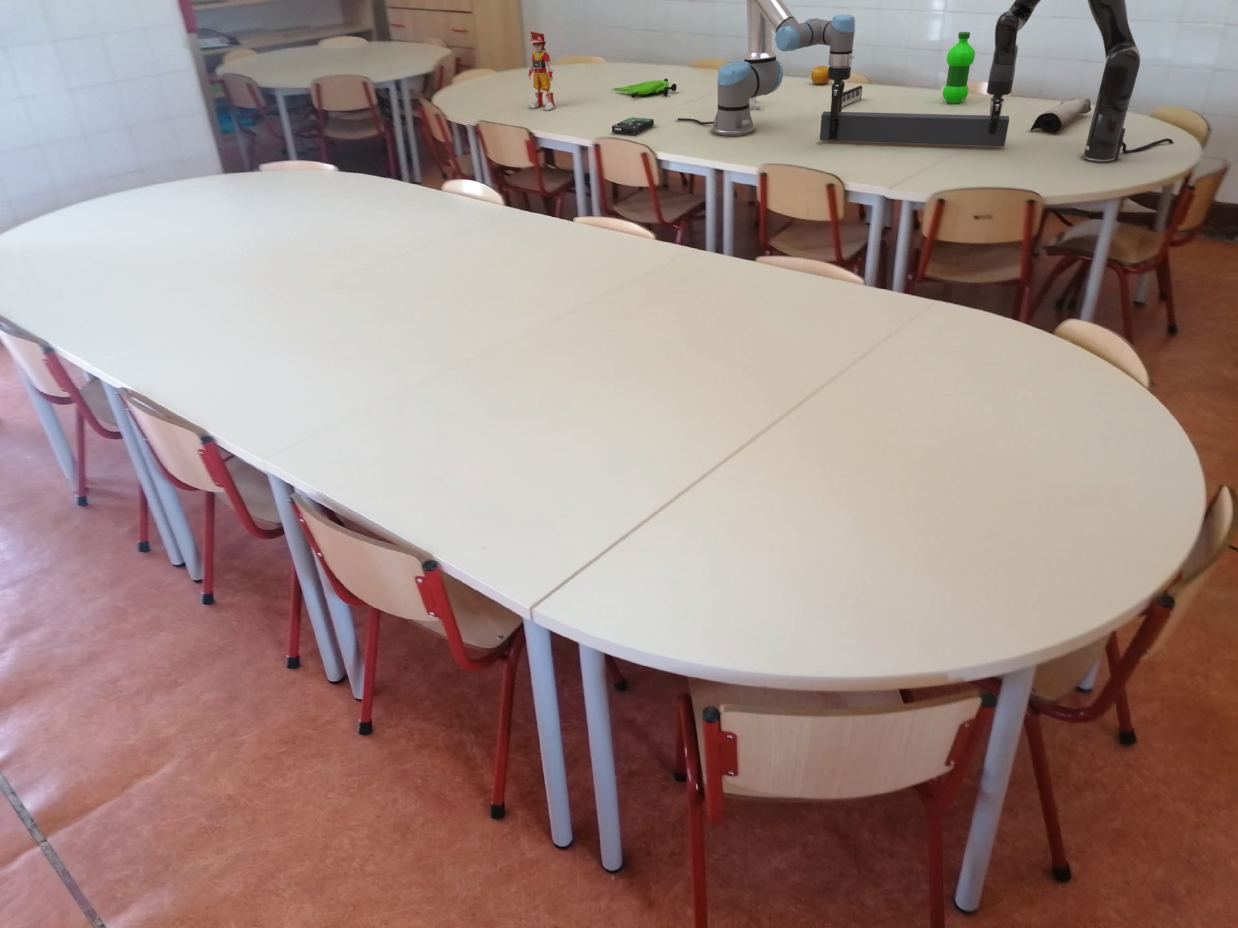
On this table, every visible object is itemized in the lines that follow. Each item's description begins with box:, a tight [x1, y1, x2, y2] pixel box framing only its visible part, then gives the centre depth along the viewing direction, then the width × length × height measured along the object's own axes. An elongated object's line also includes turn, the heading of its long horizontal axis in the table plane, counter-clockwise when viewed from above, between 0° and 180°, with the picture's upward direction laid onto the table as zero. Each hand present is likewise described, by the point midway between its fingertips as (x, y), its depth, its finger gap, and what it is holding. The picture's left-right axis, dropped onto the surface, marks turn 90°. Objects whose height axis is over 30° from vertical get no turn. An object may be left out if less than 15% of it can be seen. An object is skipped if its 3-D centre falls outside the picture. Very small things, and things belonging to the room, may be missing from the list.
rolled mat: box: [1030, 97, 1092, 134], centre depth 321 cm, size 30×9×10 cm
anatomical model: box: [749, 97, 762, 110], centre depth 364 cm, size 15×10×10 cm
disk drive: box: [611, 116, 655, 136], centre depth 345 cm, size 10×3×15 cm
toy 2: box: [612, 78, 677, 99], centre depth 396 cm, size 28×5×30 cm
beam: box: [819, 110, 1010, 148], centre depth 307 cm, size 61×5×9 cm, turn 71°
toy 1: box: [527, 31, 556, 111], centre depth 374 cm, size 12×9×30 cm
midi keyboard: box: [842, 85, 863, 107], centre depth 360 cm, size 18×1×5 cm, turn 138°
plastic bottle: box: [942, 31, 976, 104], centre depth 348 cm, size 10×10×25 cm
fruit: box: [810, 65, 830, 85], centre depth 390 cm, size 8×8×8 cm
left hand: (833, 136), depth 317 cm, fingers closed on beam, 5 cm apart
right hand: (991, 131), depth 300 cm, fingers closed on beam, 5 cm apart
